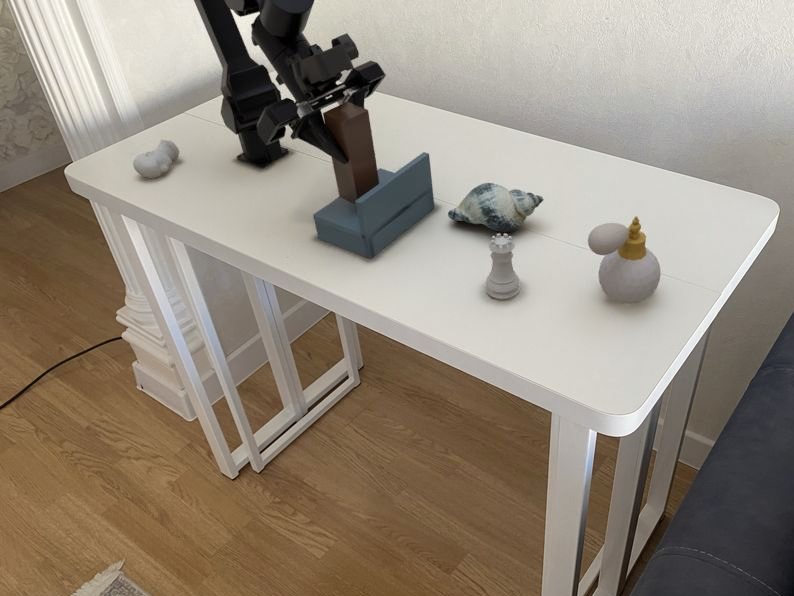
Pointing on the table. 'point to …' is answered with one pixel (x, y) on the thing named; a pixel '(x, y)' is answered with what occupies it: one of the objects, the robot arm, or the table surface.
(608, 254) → the perfume bottle
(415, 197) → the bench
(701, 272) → the table surface
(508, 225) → the seashell
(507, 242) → the rook chess piece
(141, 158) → the smooth white sculpture
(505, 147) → the table surface
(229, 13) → the robot arm
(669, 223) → the table surface
